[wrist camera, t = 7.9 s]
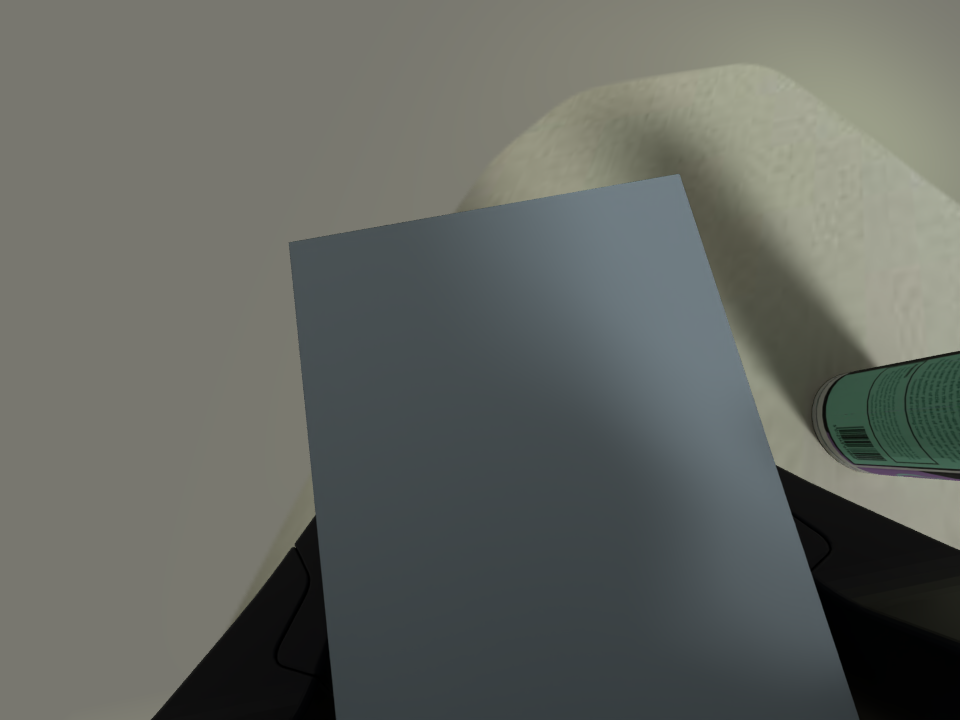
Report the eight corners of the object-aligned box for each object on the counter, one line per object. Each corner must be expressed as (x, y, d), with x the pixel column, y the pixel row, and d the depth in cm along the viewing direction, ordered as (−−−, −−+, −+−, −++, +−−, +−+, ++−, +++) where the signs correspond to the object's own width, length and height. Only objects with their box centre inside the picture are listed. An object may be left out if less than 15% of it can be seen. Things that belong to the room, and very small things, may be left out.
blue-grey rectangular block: (570, 535, 15) (918, 898, 3) (461, 557, 15) (367, 1025, 3) (534, 374, 16) (678, 174, 4) (434, 393, 16) (288, 243, 4)
